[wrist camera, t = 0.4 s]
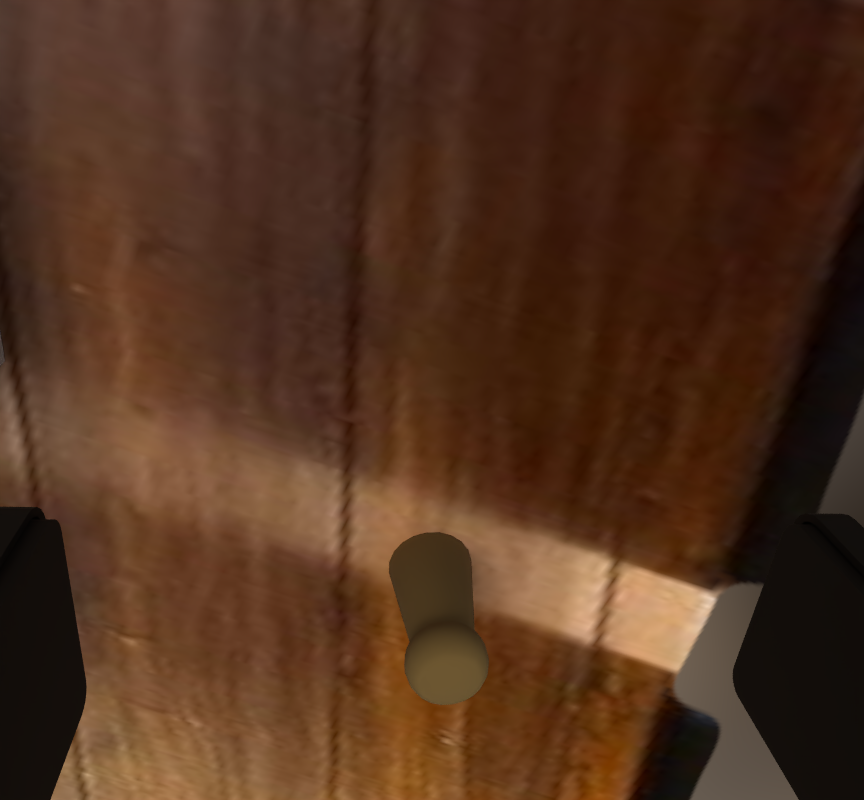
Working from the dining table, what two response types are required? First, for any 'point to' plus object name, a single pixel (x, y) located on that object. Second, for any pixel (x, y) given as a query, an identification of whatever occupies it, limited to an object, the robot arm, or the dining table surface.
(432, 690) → the olive pawn
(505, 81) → the dining table surface
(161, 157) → the dining table surface
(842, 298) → the dining table surface
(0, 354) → the low cabinet
